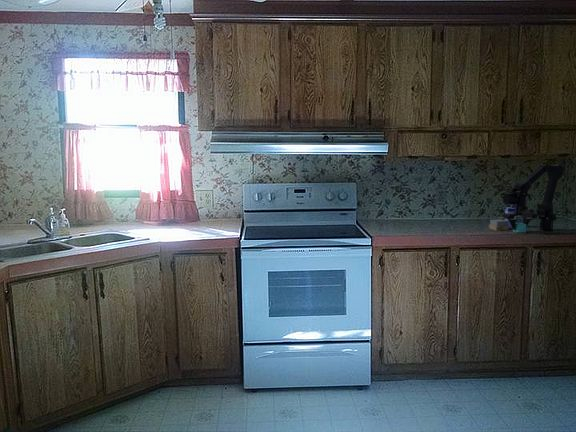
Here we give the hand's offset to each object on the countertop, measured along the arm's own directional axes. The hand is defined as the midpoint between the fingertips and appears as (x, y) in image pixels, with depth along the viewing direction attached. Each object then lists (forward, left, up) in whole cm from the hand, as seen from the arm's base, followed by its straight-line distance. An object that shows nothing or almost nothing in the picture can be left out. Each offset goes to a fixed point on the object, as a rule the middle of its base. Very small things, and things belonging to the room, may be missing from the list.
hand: (519, 230), depth 294 cm
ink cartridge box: (-7, -17, -1) cm, 18 cm away
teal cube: (0, 0, -1) cm, 1 cm away
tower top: (+7, -11, +1) cm, 13 cm away
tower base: (+7, -11, -2) cm, 13 cm away
